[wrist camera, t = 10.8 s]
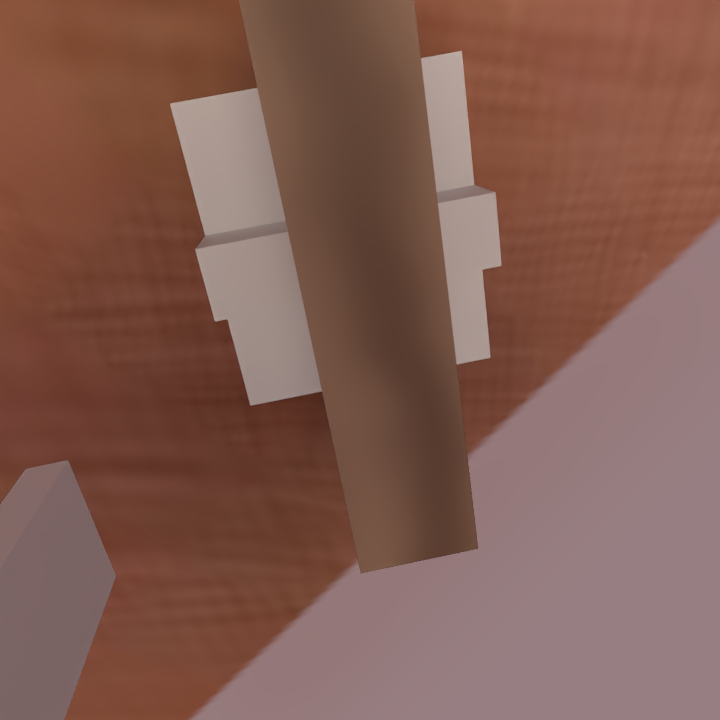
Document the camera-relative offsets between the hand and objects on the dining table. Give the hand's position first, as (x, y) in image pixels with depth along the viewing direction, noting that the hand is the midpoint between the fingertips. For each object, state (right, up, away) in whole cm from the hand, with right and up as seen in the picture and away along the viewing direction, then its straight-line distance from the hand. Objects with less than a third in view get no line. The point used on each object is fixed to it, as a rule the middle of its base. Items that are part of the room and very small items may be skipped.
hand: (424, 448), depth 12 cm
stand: (-2, +8, +21) cm, 22 cm away
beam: (-1, +5, +14) cm, 15 cm away
